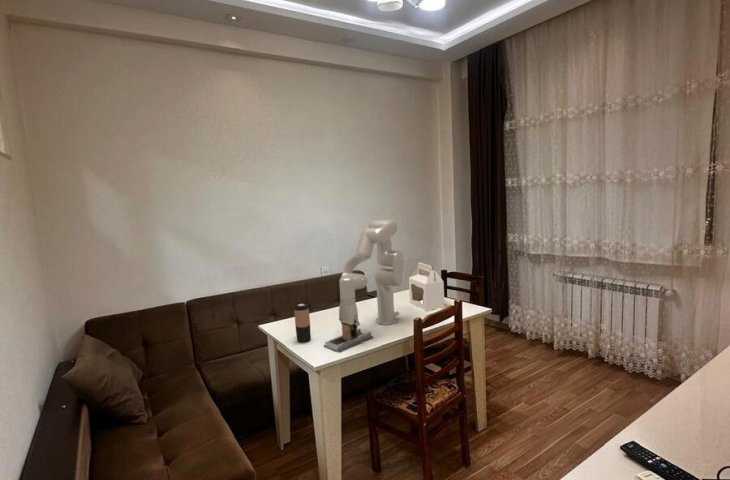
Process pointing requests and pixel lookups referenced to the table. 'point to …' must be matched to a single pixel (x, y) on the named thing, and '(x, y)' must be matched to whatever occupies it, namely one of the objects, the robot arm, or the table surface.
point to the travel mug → (302, 322)
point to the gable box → (426, 288)
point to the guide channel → (343, 345)
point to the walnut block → (347, 332)
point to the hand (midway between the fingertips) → (350, 334)
